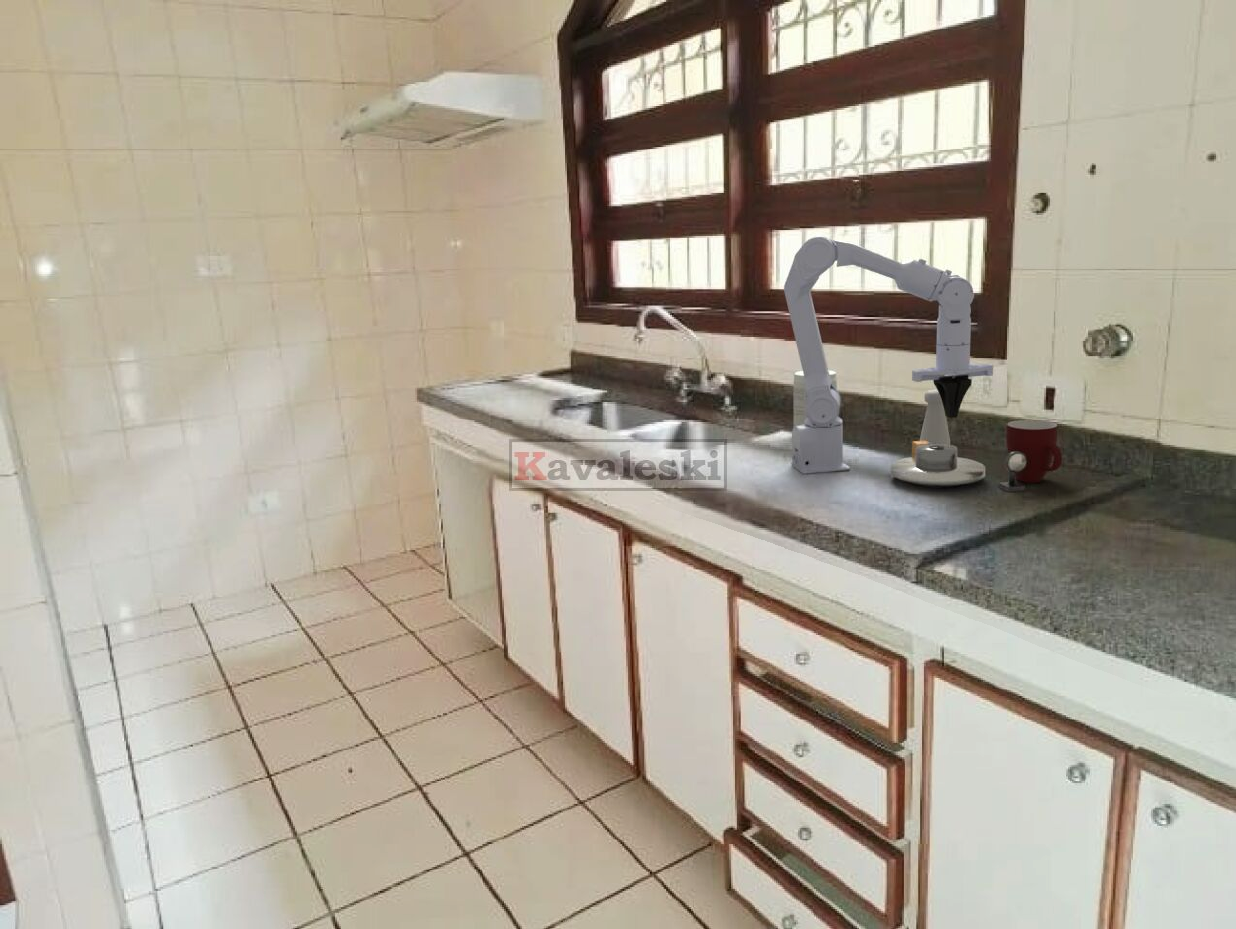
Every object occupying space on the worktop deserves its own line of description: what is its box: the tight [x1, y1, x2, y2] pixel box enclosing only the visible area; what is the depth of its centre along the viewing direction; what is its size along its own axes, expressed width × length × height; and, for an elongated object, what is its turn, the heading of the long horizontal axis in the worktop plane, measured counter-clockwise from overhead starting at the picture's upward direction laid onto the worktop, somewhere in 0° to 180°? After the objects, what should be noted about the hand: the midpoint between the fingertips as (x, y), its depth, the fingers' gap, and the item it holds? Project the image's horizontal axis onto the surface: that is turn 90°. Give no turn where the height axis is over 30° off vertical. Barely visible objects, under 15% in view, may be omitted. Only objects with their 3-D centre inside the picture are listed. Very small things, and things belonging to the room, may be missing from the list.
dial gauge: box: [998, 451, 1027, 493], centre depth 143 cm, size 4×3×7 cm
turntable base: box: [912, 483, 964, 489], centre depth 152 cm, size 10×10×1 cm
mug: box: [1005, 419, 1063, 484], centre depth 146 cm, size 11×8×10 cm
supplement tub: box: [793, 369, 838, 428], centre depth 190 cm, size 10×10×15 cm
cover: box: [916, 443, 958, 472], centre depth 151 cm, size 7×7×4 cm
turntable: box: [890, 440, 986, 485], centre depth 151 cm, size 16×16×4 cm
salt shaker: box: [919, 388, 951, 445], centre depth 168 cm, size 6×6×13 cm
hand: (951, 416), depth 156 cm, fingers closed
